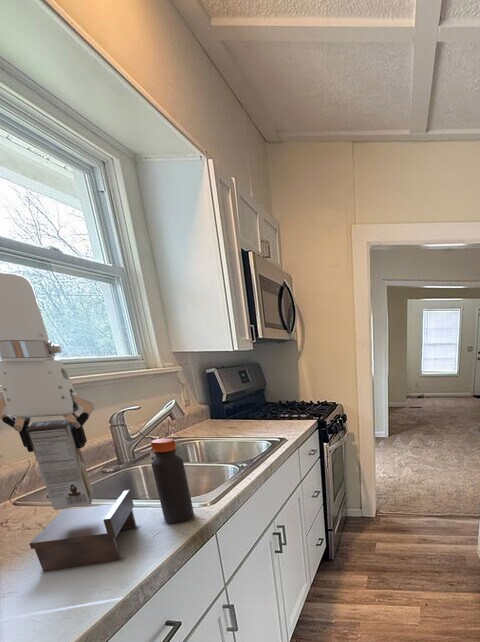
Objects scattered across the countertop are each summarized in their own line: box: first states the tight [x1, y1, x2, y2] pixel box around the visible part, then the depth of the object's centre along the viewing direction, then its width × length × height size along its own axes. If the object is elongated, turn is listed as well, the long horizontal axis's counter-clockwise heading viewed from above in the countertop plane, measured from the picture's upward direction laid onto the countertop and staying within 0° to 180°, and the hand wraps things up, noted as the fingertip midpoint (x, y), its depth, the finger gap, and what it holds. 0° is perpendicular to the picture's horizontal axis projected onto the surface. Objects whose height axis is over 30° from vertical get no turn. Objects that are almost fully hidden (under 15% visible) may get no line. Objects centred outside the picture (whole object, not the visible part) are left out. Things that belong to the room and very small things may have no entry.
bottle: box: [150, 437, 195, 524], centre depth 98 cm, size 7×7×20 cm
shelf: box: [29, 489, 137, 572], centre depth 86 cm, size 14×18×9 cm
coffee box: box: [26, 418, 94, 511], centre depth 80 cm, size 9×6×16 cm
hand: (57, 448), depth 79 cm, fingers closed on coffee box, 7 cm apart
